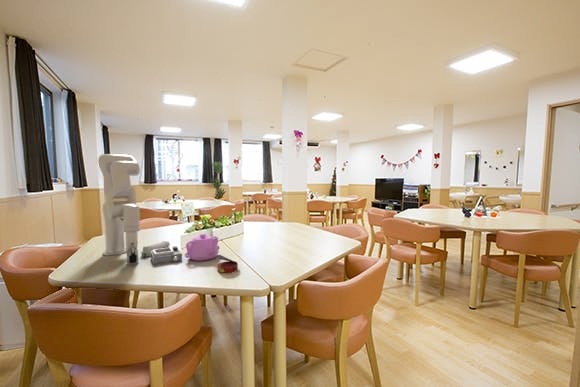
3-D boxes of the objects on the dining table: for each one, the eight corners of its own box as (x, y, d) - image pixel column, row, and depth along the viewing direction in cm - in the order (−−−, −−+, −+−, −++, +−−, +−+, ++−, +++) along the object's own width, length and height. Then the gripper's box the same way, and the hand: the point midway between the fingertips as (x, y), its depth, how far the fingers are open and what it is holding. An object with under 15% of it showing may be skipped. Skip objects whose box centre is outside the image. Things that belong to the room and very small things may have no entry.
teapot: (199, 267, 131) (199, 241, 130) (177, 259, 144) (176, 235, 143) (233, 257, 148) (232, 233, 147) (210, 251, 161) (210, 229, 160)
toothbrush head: (170, 240, 172) (147, 245, 147) (170, 251, 171) (147, 257, 147) (163, 240, 172) (139, 245, 148) (162, 250, 172) (138, 256, 147)
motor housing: (150, 258, 146) (150, 248, 145) (177, 254, 153) (177, 245, 153) (154, 266, 132) (153, 256, 132) (182, 261, 140) (182, 251, 139)
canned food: (218, 278, 129) (215, 258, 132) (238, 273, 132) (234, 254, 136) (218, 275, 119) (215, 254, 122) (240, 270, 122) (236, 250, 126)
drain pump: (126, 263, 137) (126, 248, 137) (138, 261, 140) (137, 246, 140) (127, 266, 133) (126, 250, 132) (138, 264, 136) (138, 249, 135)
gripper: (123, 226, 141) (124, 257, 141) (123, 232, 126) (124, 266, 127) (138, 225, 145) (139, 255, 146) (141, 230, 130) (142, 263, 131)
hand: (132, 260), depth 136 cm, fingers open, 9 cm apart
